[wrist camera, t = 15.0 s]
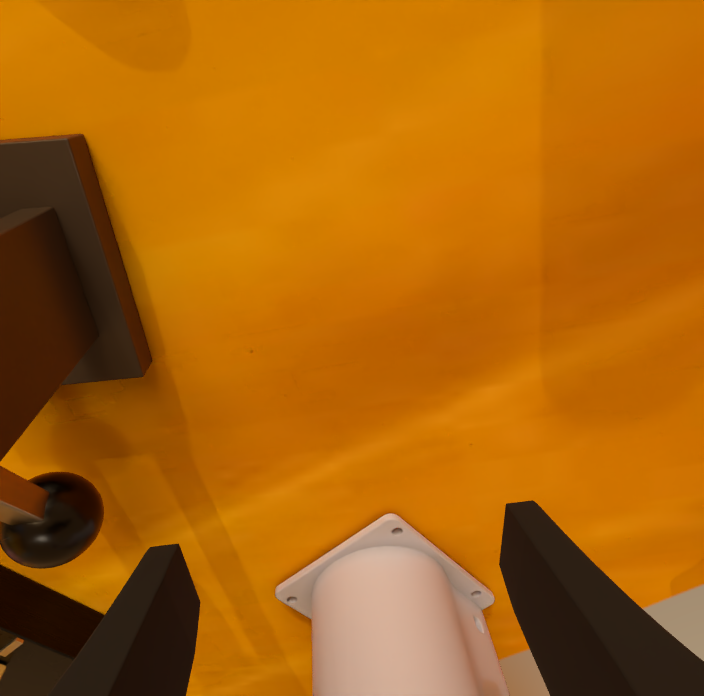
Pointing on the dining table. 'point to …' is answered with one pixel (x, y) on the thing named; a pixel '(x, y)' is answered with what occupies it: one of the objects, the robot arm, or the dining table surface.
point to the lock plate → (38, 634)
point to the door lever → (48, 517)
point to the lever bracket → (58, 281)
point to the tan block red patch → (2, 670)
